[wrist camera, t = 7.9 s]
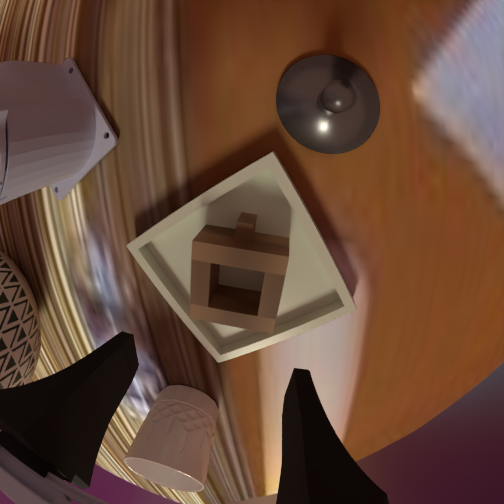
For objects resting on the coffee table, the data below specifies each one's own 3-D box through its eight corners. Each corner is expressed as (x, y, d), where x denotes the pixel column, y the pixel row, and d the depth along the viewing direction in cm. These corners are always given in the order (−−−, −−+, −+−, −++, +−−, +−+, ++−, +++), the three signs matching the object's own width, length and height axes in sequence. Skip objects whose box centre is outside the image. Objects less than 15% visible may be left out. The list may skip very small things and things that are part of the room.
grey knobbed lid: (256, 84, 15) (247, 70, 12) (344, 42, 13) (358, 19, 10) (309, 170, 17) (315, 182, 13) (394, 128, 15) (422, 128, 11)
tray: (135, 238, 21) (126, 245, 19) (274, 150, 17) (272, 151, 16) (221, 351, 24) (218, 362, 23) (353, 297, 20) (356, 309, 19)
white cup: (236, 402, 27) (218, 485, 18) (206, 428, 30) (187, 495, 21) (167, 369, 26) (131, 449, 17) (148, 400, 29) (118, 466, 20)
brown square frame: (201, 294, 21) (190, 317, 19) (207, 207, 19) (193, 221, 16) (275, 307, 21) (272, 333, 18) (292, 220, 18) (293, 237, 16)
